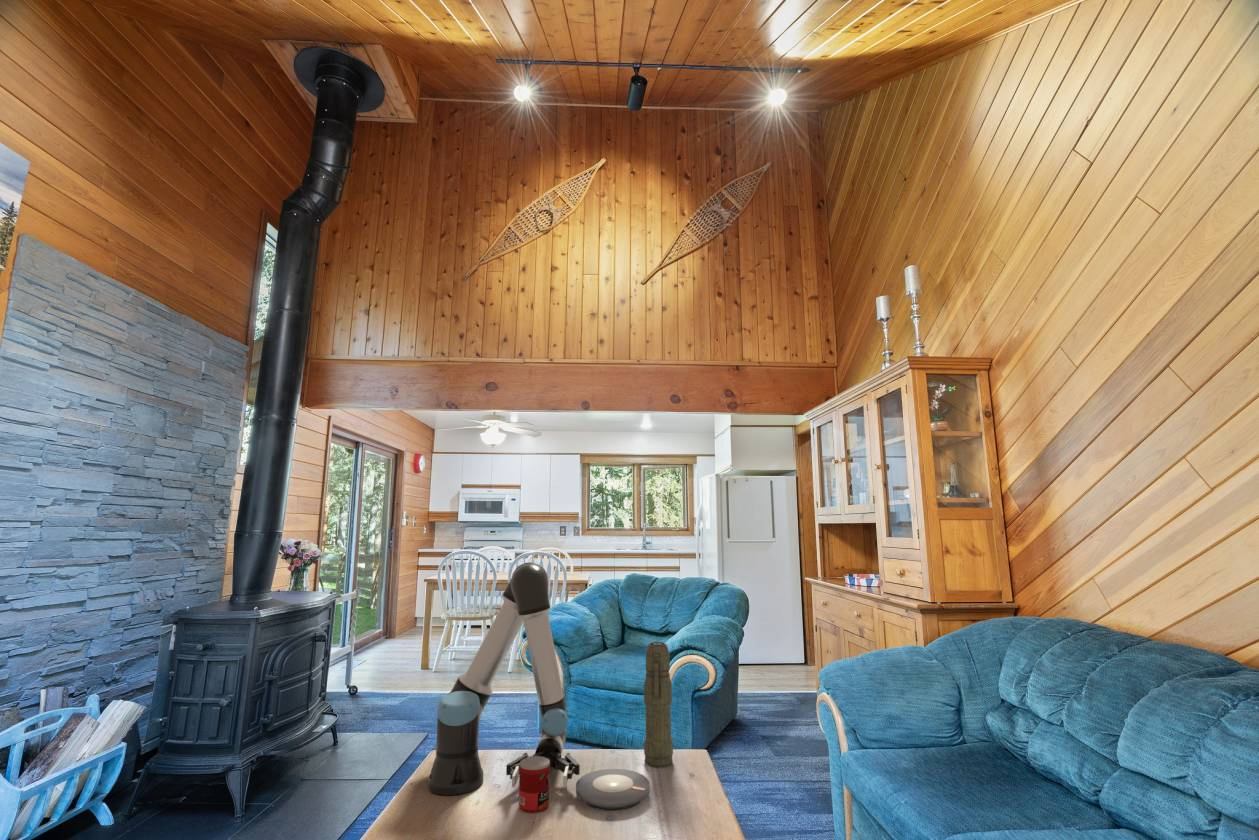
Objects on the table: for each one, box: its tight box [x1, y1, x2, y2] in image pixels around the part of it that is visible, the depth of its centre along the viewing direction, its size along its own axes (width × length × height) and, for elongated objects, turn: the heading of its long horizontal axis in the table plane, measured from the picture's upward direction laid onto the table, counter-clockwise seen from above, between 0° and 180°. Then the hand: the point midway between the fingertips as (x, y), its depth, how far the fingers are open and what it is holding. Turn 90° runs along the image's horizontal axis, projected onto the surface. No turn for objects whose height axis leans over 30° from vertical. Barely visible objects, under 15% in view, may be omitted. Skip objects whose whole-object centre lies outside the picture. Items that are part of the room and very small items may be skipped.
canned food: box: [518, 755, 551, 814], centre depth 159 cm, size 8×8×11 cm
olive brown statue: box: [643, 641, 674, 769], centre depth 189 cm, size 9×12×35 cm
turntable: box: [575, 768, 651, 807], centre depth 164 cm, size 20×20×2 cm
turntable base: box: [584, 801, 642, 812], centre depth 163 cm, size 16×16×2 cm
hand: (538, 781), depth 159 cm, fingers open, 13 cm apart
